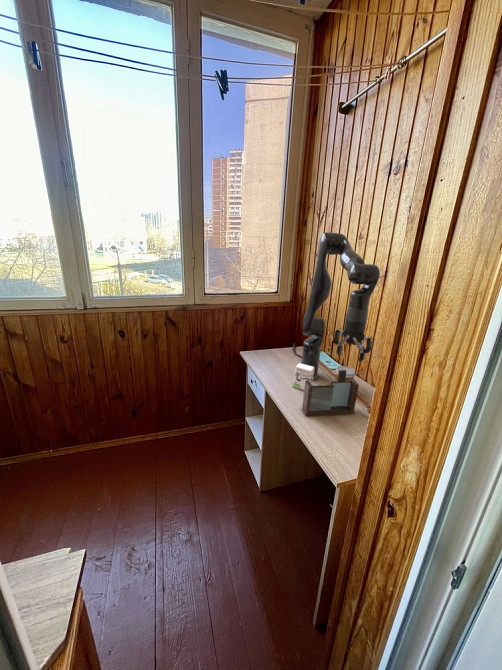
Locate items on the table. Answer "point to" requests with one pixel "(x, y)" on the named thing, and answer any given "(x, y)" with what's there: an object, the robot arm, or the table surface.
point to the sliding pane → (340, 390)
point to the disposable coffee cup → (349, 373)
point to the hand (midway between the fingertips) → (349, 357)
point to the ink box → (303, 375)
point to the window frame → (326, 400)
